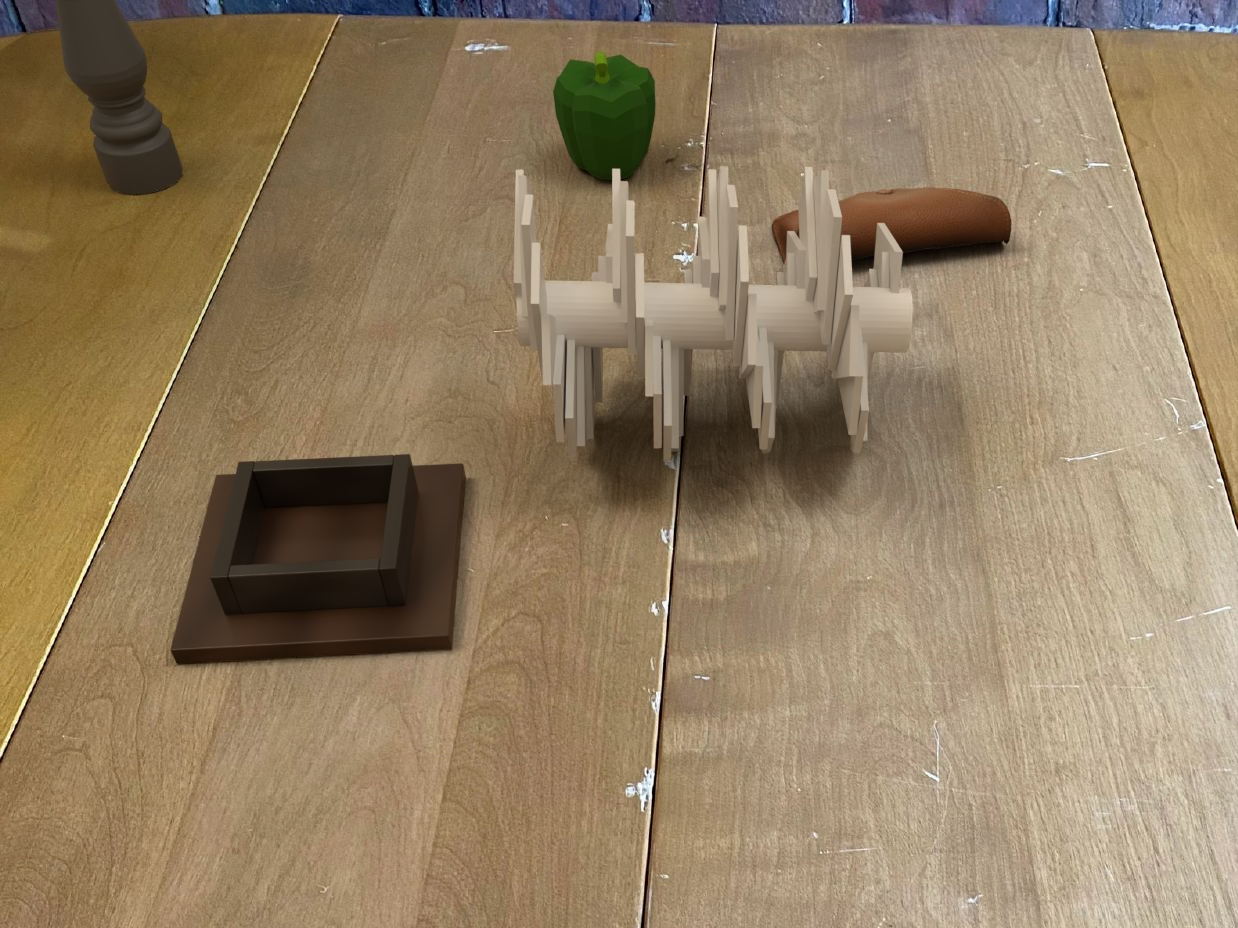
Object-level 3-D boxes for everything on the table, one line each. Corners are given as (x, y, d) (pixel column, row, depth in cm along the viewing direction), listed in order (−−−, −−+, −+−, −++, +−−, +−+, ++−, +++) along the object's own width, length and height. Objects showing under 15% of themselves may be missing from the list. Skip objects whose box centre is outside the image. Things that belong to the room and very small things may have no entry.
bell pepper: (580, 136, 123) (569, 17, 115) (669, 149, 121) (664, 29, 114) (545, 182, 117) (531, 61, 110) (638, 197, 116) (630, 75, 108)
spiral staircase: (891, 507, 97) (528, 505, 95) (879, 283, 101) (532, 276, 99) (944, 372, 79) (500, 365, 77) (927, 107, 84) (506, 94, 82)
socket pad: (176, 664, 82) (152, 612, 78) (220, 488, 92) (201, 436, 89) (452, 649, 82) (440, 597, 79) (466, 477, 93) (455, 425, 89)
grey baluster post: (155, 200, 115) (35, -145, 96) (91, 187, 116) (-39, -156, 97) (197, 165, 119) (91, -174, 100) (135, 153, 120) (18, -184, 101)
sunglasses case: (974, 193, 116) (998, 144, 109) (994, 271, 115) (1019, 227, 108) (764, 220, 113) (776, 172, 106) (782, 300, 112) (795, 257, 105)
